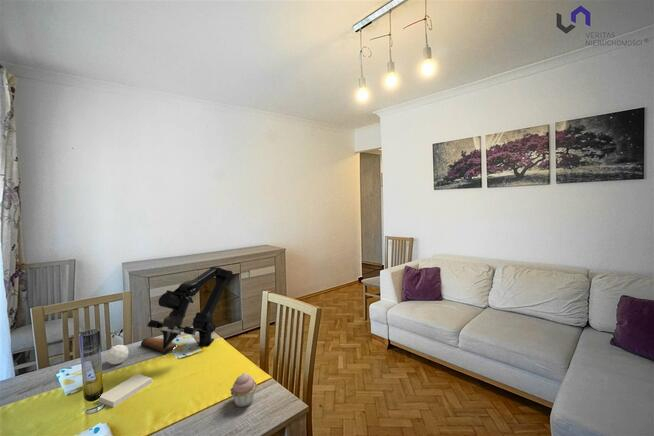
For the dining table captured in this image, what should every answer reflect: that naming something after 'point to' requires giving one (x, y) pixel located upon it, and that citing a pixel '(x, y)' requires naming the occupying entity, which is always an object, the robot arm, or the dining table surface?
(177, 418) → the dining table surface
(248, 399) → the cupcake
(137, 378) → the wooden block
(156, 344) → the sunglasses case
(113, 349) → the geometric ball
